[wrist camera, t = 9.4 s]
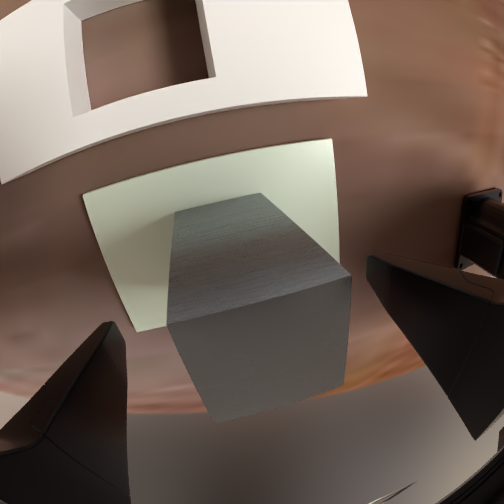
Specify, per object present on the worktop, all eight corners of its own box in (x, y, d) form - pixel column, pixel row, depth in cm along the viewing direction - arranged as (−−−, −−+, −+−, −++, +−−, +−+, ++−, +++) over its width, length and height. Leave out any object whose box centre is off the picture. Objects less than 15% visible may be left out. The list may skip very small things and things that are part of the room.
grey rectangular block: (260, 192, 13) (351, 275, 6) (271, 267, 15) (343, 384, 8) (175, 211, 12) (166, 324, 5) (195, 286, 14) (214, 423, 7)
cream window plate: (311, -29, 9) (331, -48, 7) (339, 99, 12) (367, 96, 10) (11, 38, 7) (-13, 29, 4) (27, 173, 10) (1, 184, 8)
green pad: (327, 138, 13) (331, 138, 13) (335, 275, 17) (339, 279, 16) (85, 192, 12) (82, 195, 11) (137, 326, 15) (137, 332, 15)
